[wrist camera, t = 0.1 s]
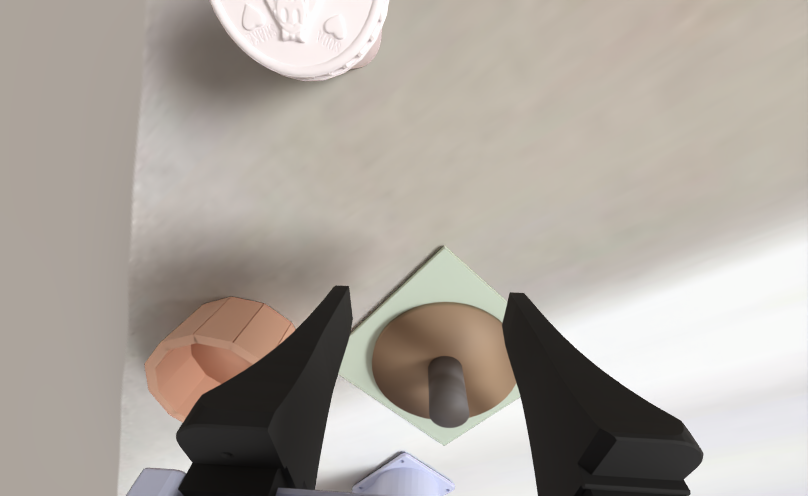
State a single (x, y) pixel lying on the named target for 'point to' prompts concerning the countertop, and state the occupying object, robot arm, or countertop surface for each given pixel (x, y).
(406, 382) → the lid
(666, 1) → the countertop surface
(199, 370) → the bowl
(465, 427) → the mat
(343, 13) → the smoothie
